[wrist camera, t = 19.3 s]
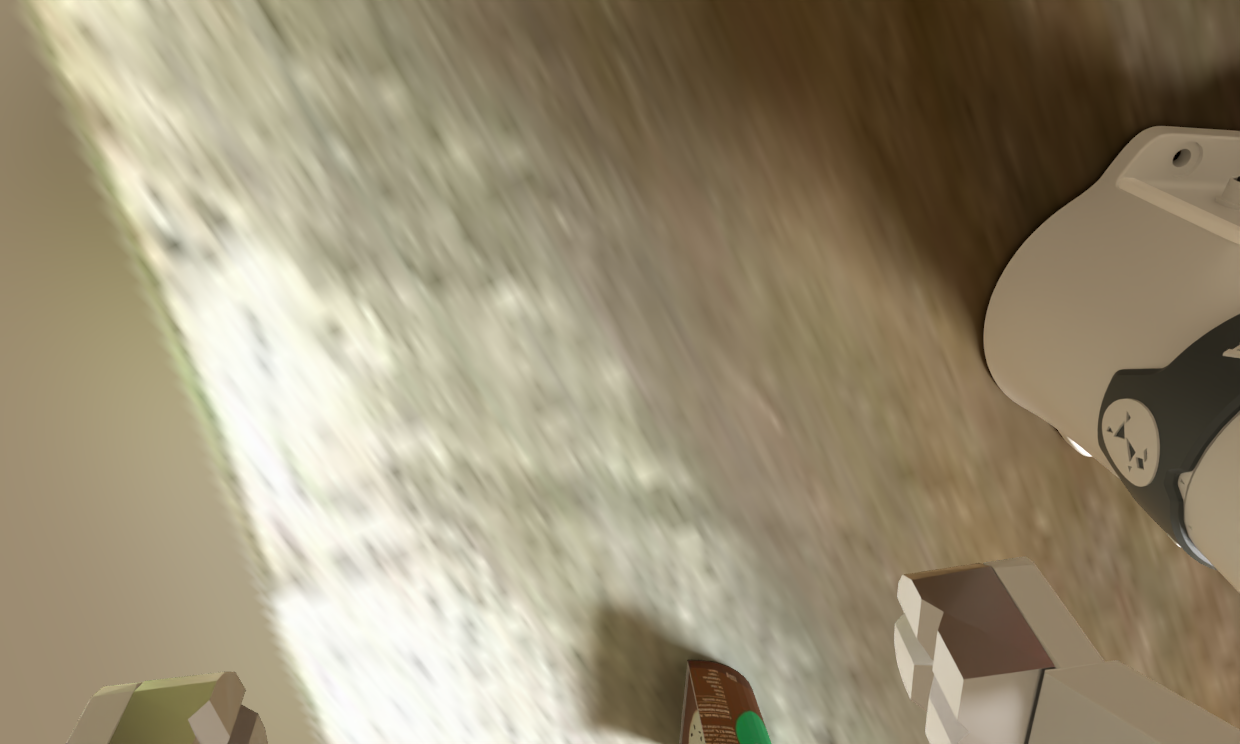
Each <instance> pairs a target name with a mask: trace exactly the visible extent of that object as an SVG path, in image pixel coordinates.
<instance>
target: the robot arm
mask: <svg viewBox="0 0 1240 744" xmlns="http://www.w3.org/2000/svg"><path fill="white" fill-rule="evenodd" d="M1180 150H1181V154H1180V156H1179V157H1178V158H1177V159H1176V160H1175V161H1173V158H1174V156H1175V154H1176V153H1177V152H1178V151H1180ZM984 351H985V357H986V361H987V365H988V367H989V370H990V372H991V374H992V376H993V378H994V380H995V382H996V383H997V385H998V386H999V387H1000V389H1001V390H1002V391H1003V392H1004V393H1005V394H1006V395H1007V396H1008V397H1009V398H1010V399H1011V400H1013V401H1014V402H1015V403H1017V404H1018V405H1020V406H1021V407H1023V408H1025V409H1027V410H1028V411H1030V412H1032V413H1034V414H1035V415H1037V416H1039V417H1040V418H1042V419H1043V420H1045V421H1047V422H1048V423H1049V424H1051V425H1052V426H1053V427H1055V428H1056V429H1057V430H1058V431H1059V433H1060V434H1061V436H1062V437H1063V438H1064V439H1065V441H1066V442H1067V443H1068V444H1069V445H1070V446H1072V447H1073V448H1074V449H1075V450H1076V451H1078V452H1079V453H1080V454H1082V455H1084V456H1088V457H1094V458H1095V459H1096V460H1097V461H1099V462H1100V463H1101V464H1102V465H1103V466H1105V467H1106V468H1107V469H1108V470H1110V471H1111V472H1112V473H1113V474H1114V475H1116V476H1117V477H1118V478H1119V479H1121V481H1122V482H1123V484H1124V485H1125V486H1126V488H1127V489H1128V491H1129V492H1130V493H1131V495H1132V496H1133V498H1134V499H1135V500H1136V501H1137V503H1138V504H1139V505H1140V506H1141V507H1142V508H1143V509H1144V510H1145V511H1146V512H1147V513H1148V514H1149V515H1150V516H1151V518H1152V519H1153V520H1154V521H1155V522H1156V523H1157V524H1158V525H1159V526H1160V527H1161V528H1162V529H1163V530H1164V531H1165V532H1166V533H1167V536H1168V537H1169V538H1170V539H1171V540H1172V541H1173V542H1174V543H1175V544H1176V545H1178V546H1179V547H1181V548H1183V549H1184V550H1185V551H1186V552H1187V553H1188V554H1189V555H1190V556H1191V557H1192V558H1193V559H1195V560H1196V561H1198V562H1199V563H1201V564H1203V565H1205V566H1207V567H1209V568H1211V569H1215V570H1218V571H1219V572H1220V573H1221V574H1222V575H1223V576H1224V577H1225V578H1226V579H1227V580H1228V582H1229V583H1230V584H1231V585H1232V586H1233V587H1234V588H1235V589H1236V590H1237V591H1238V592H1239V593H1240V131H1233V130H1218V129H1203V128H1188V127H1173V126H1154V127H1150V128H1148V129H1145V130H1144V131H1142V132H1140V133H1139V134H1138V135H1136V136H1135V137H1134V138H1133V139H1132V140H1131V141H1130V142H1129V143H1128V144H1127V145H1126V146H1125V147H1124V149H1123V150H1122V151H1121V152H1120V153H1119V154H1118V156H1117V157H1116V158H1115V159H1114V161H1113V162H1112V163H1111V165H1110V166H1109V167H1108V168H1107V170H1106V171H1105V172H1104V174H1103V175H1102V176H1101V178H1100V179H1099V180H1098V181H1097V182H1096V183H1095V184H1094V185H1092V186H1091V187H1090V188H1089V189H1088V190H1086V191H1085V192H1084V193H1082V194H1081V195H1080V196H1078V197H1077V198H1075V199H1074V200H1072V201H1071V202H1070V203H1068V204H1067V205H1065V206H1064V207H1063V208H1061V209H1060V210H1058V211H1057V212H1056V213H1055V214H1053V215H1052V216H1051V217H1050V218H1048V219H1047V220H1046V221H1045V222H1044V223H1043V224H1042V225H1041V226H1040V227H1038V228H1037V229H1036V230H1035V231H1034V232H1033V233H1032V234H1031V236H1030V237H1029V238H1028V239H1027V240H1026V241H1025V242H1024V243H1023V244H1022V246H1021V247H1020V248H1019V249H1018V251H1017V252H1016V253H1015V255H1014V256H1013V257H1012V259H1011V260H1010V262H1009V263H1008V265H1007V266H1006V268H1005V270H1004V271H1003V273H1002V275H1001V277H1000V278H999V280H998V283H997V285H996V287H995V289H994V291H993V294H992V296H991V299H990V302H989V306H988V309H987V313H986V318H985V324H984ZM897 598H898V600H899V602H900V604H901V606H902V609H903V611H904V614H903V615H902V616H901V617H900V618H899V619H898V620H897V621H896V622H895V634H894V645H895V651H896V658H897V664H898V668H899V671H900V674H901V677H902V680H903V683H904V685H905V688H906V690H907V692H908V695H909V697H910V699H911V701H913V702H914V703H916V704H917V705H918V706H920V707H921V708H923V709H924V710H925V711H927V719H926V728H925V733H926V736H927V738H928V740H929V742H930V744H1240V730H1239V729H1238V728H1236V727H1234V726H1232V725H1231V724H1229V723H1227V722H1225V721H1224V720H1222V719H1220V718H1218V717H1217V716H1215V715H1213V714H1211V713H1210V712H1208V711H1206V710H1204V709H1203V708H1201V707H1199V706H1197V705H1196V704H1194V703H1192V702H1190V701H1189V700H1187V699H1185V698H1183V697H1182V696H1180V695H1178V694H1176V693H1175V692H1173V691H1171V690H1169V689H1168V688H1166V687H1164V686H1162V685H1160V684H1159V683H1157V682H1155V681H1153V680H1152V679H1150V678H1148V677H1146V676H1145V675H1143V674H1141V673H1139V672H1138V671H1136V670H1134V669H1132V668H1131V667H1129V666H1127V665H1125V664H1124V663H1122V662H1120V661H1118V660H1114V661H1104V660H1103V658H1102V657H1101V655H1100V654H1099V653H1098V651H1097V650H1096V648H1095V647H1094V646H1093V644H1092V643H1091V641H1090V640H1089V639H1088V637H1087V636H1086V634H1085V633H1084V632H1083V630H1082V629H1081V627H1080V626H1079V625H1078V623H1077V622H1076V620H1075V619H1074V618H1073V616H1072V615H1071V614H1070V612H1069V611H1068V609H1067V608H1066V607H1065V605H1064V604H1063V602H1062V601H1061V600H1060V598H1059V597H1058V595H1057V594H1056V593H1055V591H1054V590H1053V588H1052V587H1051V586H1050V584H1049V583H1048V581H1047V580H1046V579H1045V577H1044V576H1043V574H1042V573H1041V572H1040V570H1039V569H1038V567H1037V566H1036V565H1035V563H1034V562H1033V561H1031V560H1030V559H1028V558H1027V557H1018V558H1011V559H1004V560H998V561H991V562H984V563H983V564H981V563H975V564H969V565H962V566H956V567H949V568H943V569H936V570H930V571H923V572H917V573H910V574H904V575H902V577H901V579H900V581H899V584H898V594H897ZM245 691H246V690H245V688H244V686H243V684H242V683H241V681H240V679H239V677H238V676H237V674H236V673H235V672H218V673H210V674H201V675H192V676H184V677H175V678H167V679H158V680H149V681H144V682H137V683H129V684H122V685H121V684H120V685H112V686H104V687H102V688H101V689H100V690H99V691H98V692H96V693H95V694H94V695H93V696H92V697H91V698H90V700H89V701H88V703H87V705H86V707H85V709H84V711H83V713H82V714H81V716H80V718H79V720H78V722H77V724H76V726H75V728H74V729H73V732H72V733H71V735H70V737H69V739H68V741H67V743H66V744H268V741H267V736H266V731H265V727H264V725H263V723H262V721H261V719H260V717H259V715H258V713H256V712H254V711H252V710H250V709H248V708H246V707H245V706H243V705H241V702H242V700H243V697H244V694H245Z"/></svg>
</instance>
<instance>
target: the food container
mask: <svg viewBox="0 0 1240 744" xmlns="http://www.w3.org/2000/svg"><path fill="white" fill-rule="evenodd" d="M679 744H771V741H770V738H769V735H768V733H767V730H766V727H765V724H764V721H763V718H762V716H761V713H760V710H759V707H758V704H757V701H756V699H755V696H754V693H753V690H752V688H751V686H750V684H749V682H748V681H747V680H746V678H745V677H744V676H743V675H741V674H740V673H739V672H738V671H736V670H734V669H732V668H730V667H728V666H725V665H723V664H719V663H715V662H711V661H702V660H687V670H686V680H685V690H684V700H683V710H682V720H681V730H680V740H679Z"/></svg>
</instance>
